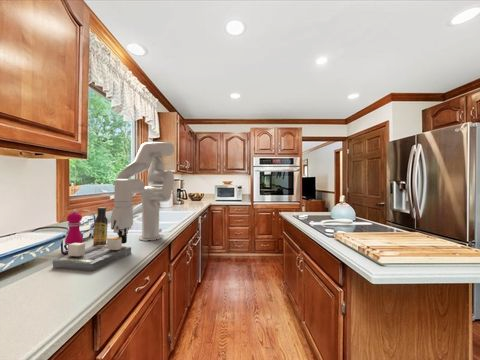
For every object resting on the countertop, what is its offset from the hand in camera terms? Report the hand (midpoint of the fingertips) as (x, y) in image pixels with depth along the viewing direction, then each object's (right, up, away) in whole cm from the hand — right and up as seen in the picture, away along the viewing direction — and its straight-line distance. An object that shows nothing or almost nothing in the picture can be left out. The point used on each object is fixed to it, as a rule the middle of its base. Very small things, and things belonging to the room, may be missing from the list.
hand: (122, 242), depth 106 cm
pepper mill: (-26, -5, +4) cm, 27 cm away
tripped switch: (-1, -1, -5) cm, 5 cm away
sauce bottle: (-20, -5, +15) cm, 26 cm away
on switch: (-12, -1, -14) cm, 18 cm away
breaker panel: (-6, -5, -10) cm, 13 cm away
